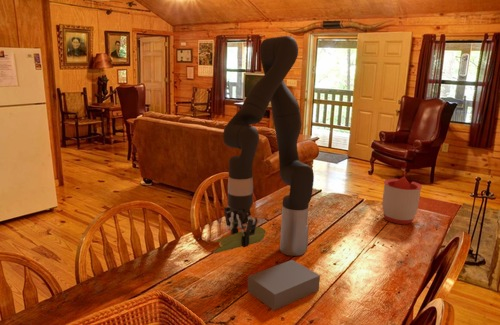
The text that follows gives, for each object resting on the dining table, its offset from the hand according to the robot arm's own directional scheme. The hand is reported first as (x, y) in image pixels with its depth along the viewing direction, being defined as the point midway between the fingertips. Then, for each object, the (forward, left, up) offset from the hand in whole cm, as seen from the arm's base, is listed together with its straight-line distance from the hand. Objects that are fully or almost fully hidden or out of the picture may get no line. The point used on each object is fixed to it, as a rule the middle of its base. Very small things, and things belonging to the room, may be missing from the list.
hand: (239, 243), depth 125 cm
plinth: (-7, +14, -12) cm, 19 cm away
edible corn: (0, 0, -1) cm, 1 cm away
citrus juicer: (-90, 0, -12) cm, 90 cm away
